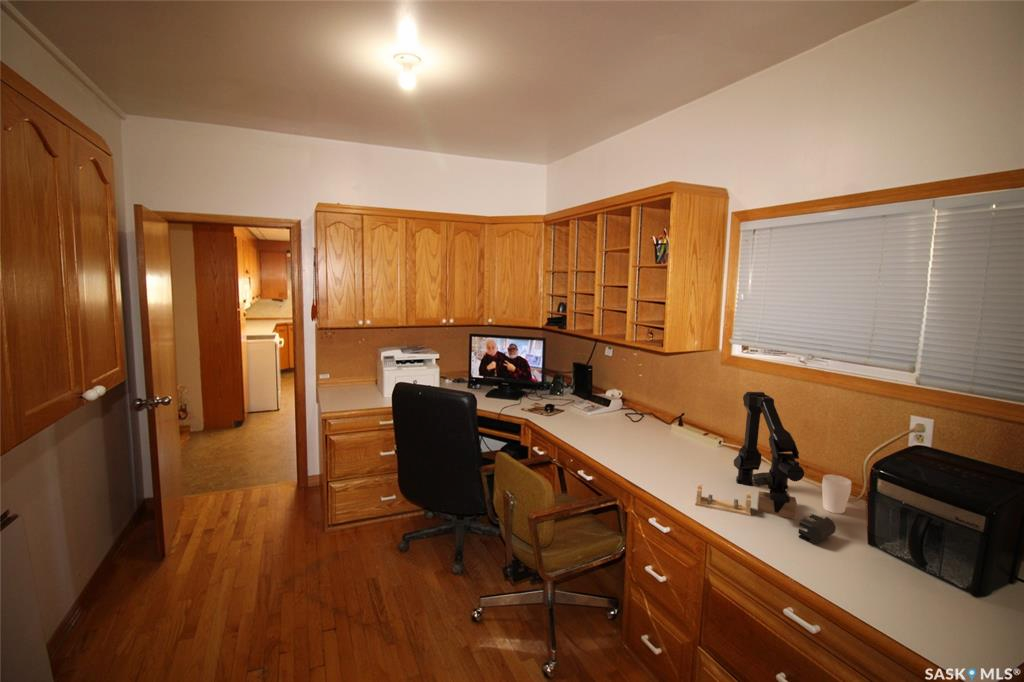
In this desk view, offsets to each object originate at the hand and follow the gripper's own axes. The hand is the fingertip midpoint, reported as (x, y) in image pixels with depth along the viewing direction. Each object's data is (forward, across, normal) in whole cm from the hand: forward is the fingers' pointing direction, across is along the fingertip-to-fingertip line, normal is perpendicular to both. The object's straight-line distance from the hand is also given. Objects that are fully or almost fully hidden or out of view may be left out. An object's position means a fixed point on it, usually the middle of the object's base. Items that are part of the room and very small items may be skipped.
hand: (775, 509), depth 180 cm
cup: (+1, -12, +20) cm, 23 cm away
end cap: (+1, +14, +11) cm, 18 cm away
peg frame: (+1, +4, -18) cm, 18 cm away
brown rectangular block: (+1, 0, 0) cm, 1 cm away
